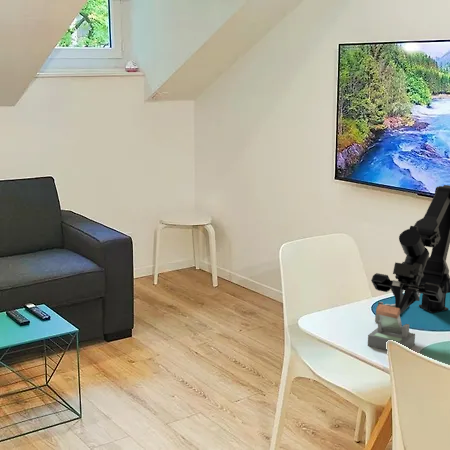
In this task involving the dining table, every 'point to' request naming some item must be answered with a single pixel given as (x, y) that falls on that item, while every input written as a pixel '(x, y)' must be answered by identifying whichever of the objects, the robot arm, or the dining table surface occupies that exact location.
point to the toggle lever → (390, 319)
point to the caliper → (378, 314)
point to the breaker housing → (390, 337)
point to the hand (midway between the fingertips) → (397, 314)
